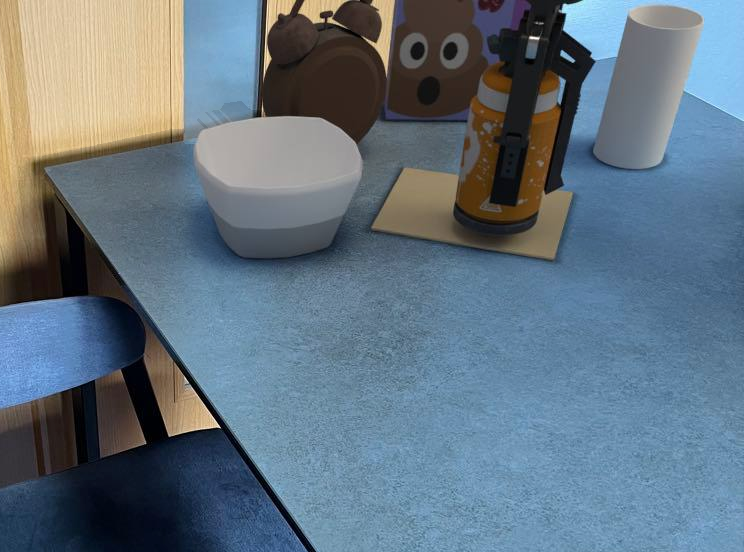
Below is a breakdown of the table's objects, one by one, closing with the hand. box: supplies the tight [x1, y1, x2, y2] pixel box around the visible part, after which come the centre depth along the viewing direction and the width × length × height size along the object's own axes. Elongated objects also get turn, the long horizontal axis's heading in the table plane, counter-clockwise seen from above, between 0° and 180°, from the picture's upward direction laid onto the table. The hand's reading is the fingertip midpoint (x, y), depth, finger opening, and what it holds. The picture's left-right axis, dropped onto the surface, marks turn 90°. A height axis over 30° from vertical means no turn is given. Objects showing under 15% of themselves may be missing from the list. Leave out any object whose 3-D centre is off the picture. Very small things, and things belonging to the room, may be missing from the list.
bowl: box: [192, 116, 364, 259], centre depth 112 cm, size 18×18×9 cm
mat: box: [370, 166, 574, 261], centre depth 118 cm, size 20×16×1 cm
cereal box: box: [383, 0, 531, 123], centre depth 128 cm, size 17×5×24 cm, turn 87°
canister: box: [453, 28, 597, 236], centre depth 106 cm, size 9×11×20 cm
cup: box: [592, 3, 705, 170], centre depth 122 cm, size 8×8×16 cm
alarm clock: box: [261, 0, 387, 145], centre depth 121 cm, size 14×7×20 cm, turn 115°
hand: (510, 183), depth 110 cm, fingers closed on canister, 9 cm apart
